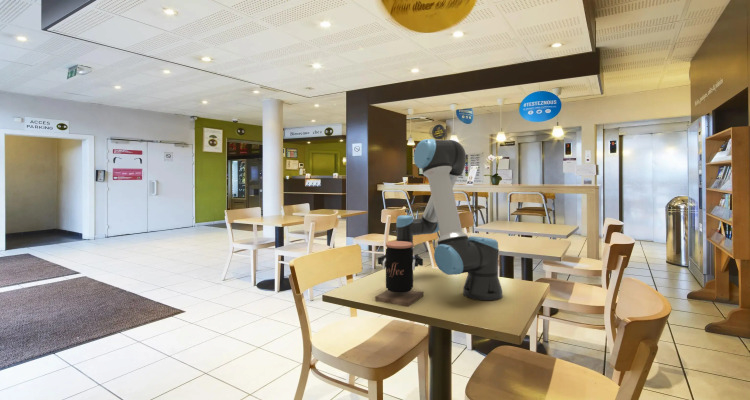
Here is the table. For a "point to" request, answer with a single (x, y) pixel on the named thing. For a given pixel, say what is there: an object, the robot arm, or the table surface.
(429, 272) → the table surface
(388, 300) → the walnut board
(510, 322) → the table surface
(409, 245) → the coffee jar
